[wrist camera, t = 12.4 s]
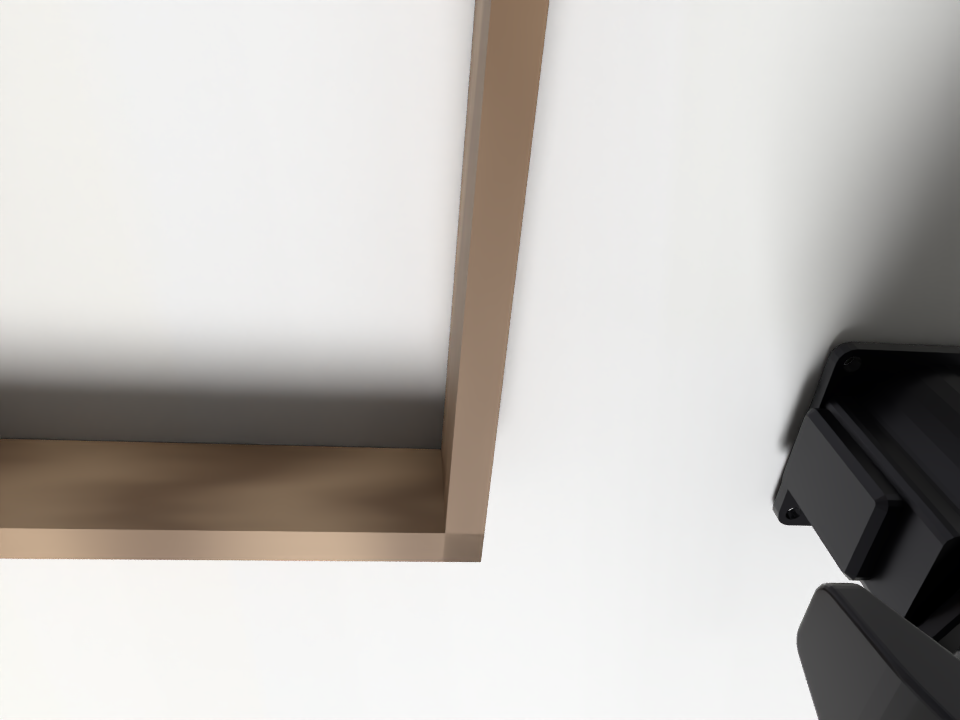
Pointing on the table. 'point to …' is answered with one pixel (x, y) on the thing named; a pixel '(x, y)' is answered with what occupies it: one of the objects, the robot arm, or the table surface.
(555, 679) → the table surface
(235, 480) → the wooden u-shaped frame
